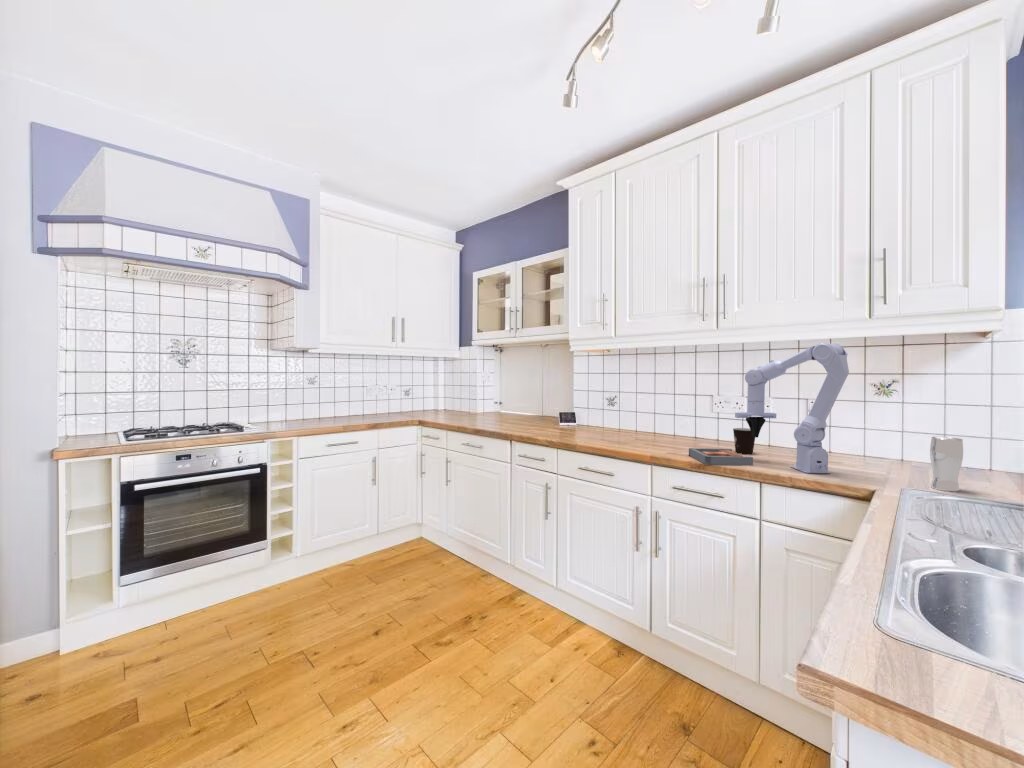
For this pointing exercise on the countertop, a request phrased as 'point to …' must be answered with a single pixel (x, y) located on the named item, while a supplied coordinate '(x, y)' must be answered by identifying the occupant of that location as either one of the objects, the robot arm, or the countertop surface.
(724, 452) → the t block
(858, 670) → the countertop surface
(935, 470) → the beer glass
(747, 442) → the coffee mug
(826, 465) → the robot arm
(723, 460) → the dock
